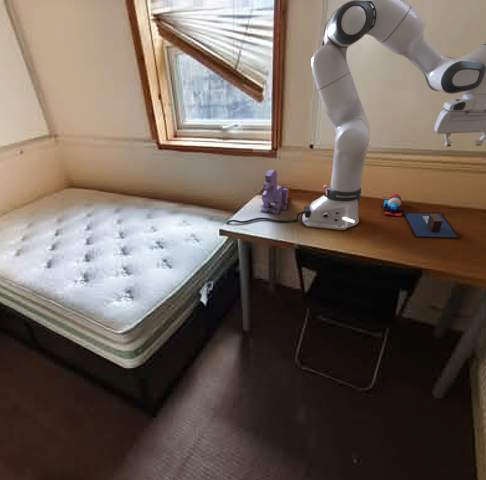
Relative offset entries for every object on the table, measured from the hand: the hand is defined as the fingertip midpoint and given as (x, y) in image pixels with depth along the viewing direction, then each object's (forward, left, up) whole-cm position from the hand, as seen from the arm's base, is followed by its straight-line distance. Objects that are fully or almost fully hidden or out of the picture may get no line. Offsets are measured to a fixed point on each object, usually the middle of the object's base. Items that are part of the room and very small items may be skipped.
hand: (462, 145), depth 117 cm
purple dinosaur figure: (-66, +8, -27) cm, 71 cm away
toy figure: (-16, +6, -27) cm, 32 cm away
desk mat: (-6, -9, -27) cm, 29 cm away
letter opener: (-6, -9, -27) cm, 29 cm away
